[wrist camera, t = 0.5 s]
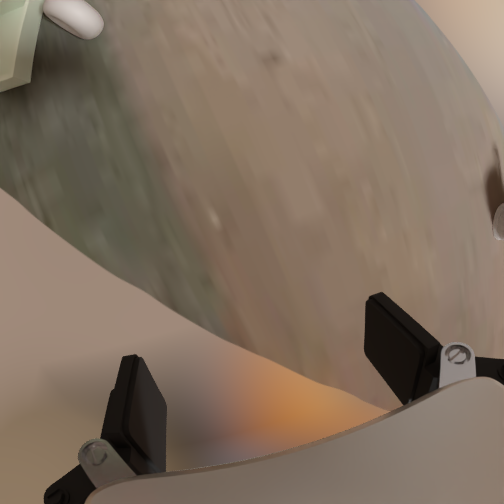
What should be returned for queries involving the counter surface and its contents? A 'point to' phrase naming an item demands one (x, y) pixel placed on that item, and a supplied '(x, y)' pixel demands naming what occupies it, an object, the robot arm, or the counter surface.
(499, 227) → the glass holder
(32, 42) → the bin
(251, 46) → the counter surface
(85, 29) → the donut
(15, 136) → the counter surface
